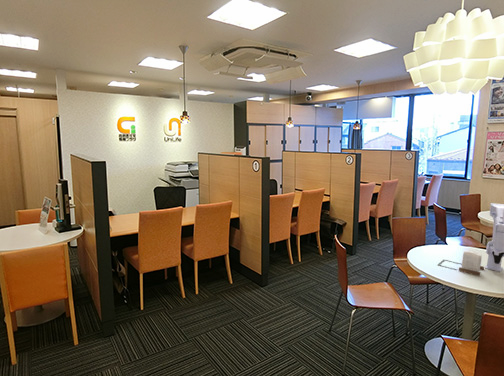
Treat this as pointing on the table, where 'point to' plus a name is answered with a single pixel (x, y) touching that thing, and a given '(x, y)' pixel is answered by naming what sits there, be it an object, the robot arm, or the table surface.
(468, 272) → the walnut rails
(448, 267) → the charcoal frame
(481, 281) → the table surface
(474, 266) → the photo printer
